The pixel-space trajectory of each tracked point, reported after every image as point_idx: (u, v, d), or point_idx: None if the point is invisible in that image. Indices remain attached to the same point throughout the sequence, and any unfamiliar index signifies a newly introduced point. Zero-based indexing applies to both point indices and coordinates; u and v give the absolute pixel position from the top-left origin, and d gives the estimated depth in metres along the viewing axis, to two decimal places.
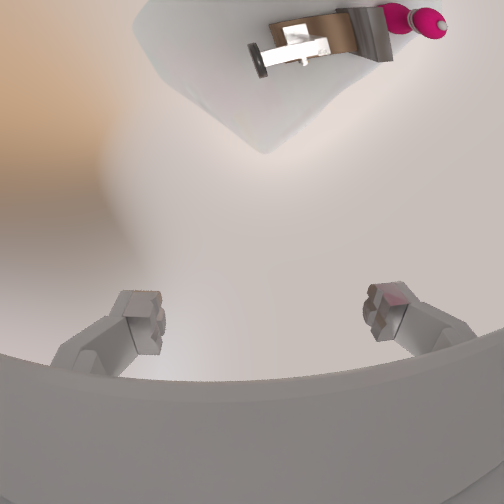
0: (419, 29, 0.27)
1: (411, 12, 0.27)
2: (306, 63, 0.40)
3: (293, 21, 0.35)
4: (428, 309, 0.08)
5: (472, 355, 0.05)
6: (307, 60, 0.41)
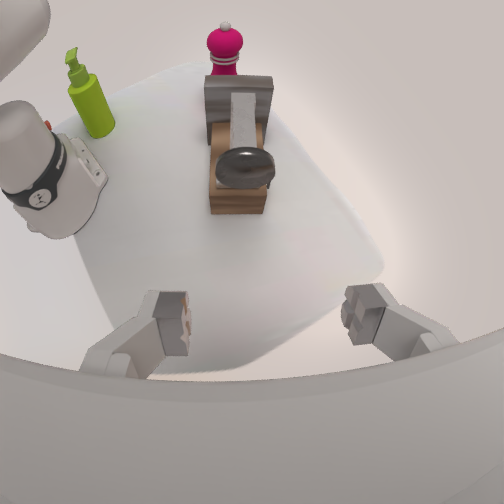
0: (232, 49, 0.36)
1: (213, 60, 0.39)
2: None
3: (211, 174, 0.39)
4: (407, 312, 0.08)
5: (472, 355, 0.05)
6: None
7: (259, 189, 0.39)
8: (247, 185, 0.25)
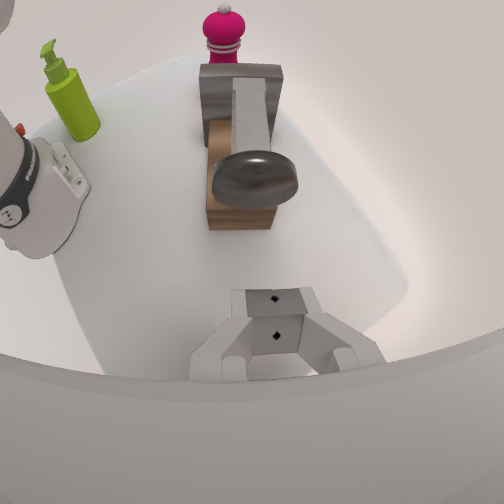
0: (233, 34, 0.29)
1: (211, 47, 0.32)
2: None
3: (208, 183, 0.33)
4: (328, 322, 0.08)
5: (472, 355, 0.05)
6: None
7: None
8: (257, 204, 0.18)
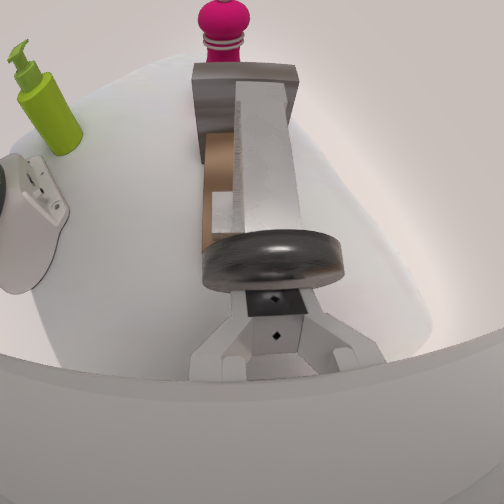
0: (235, 26, 0.23)
1: (208, 43, 0.26)
2: None
3: (205, 216, 0.26)
4: (328, 321, 0.08)
5: (472, 355, 0.05)
6: None
7: None
8: None
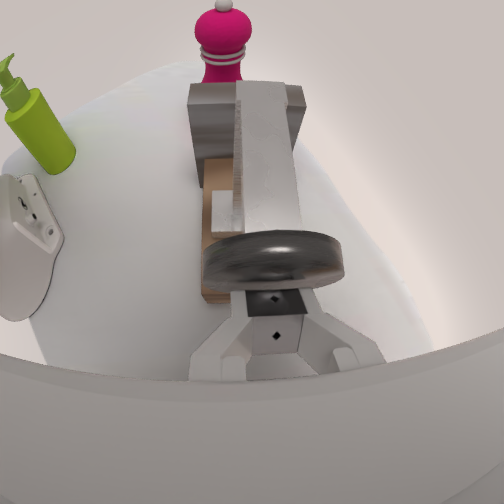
0: (235, 40, 0.22)
1: (206, 57, 0.25)
2: None
3: None
4: (328, 322, 0.08)
5: (472, 355, 0.05)
6: None
7: None
8: None
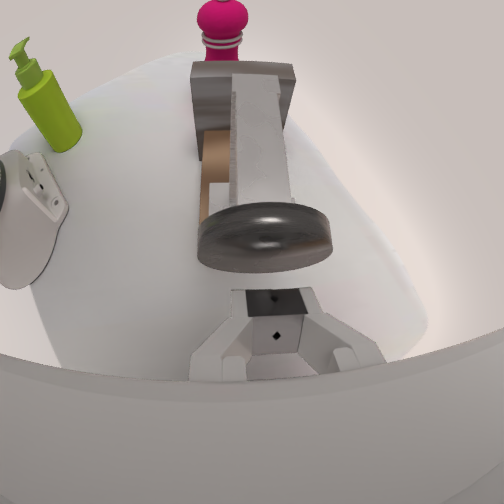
0: (233, 26, 0.23)
1: (206, 42, 0.26)
2: (291, 200, 0.26)
3: (202, 212, 0.27)
4: (328, 322, 0.08)
5: (472, 355, 0.05)
6: None
7: None
8: (267, 269, 0.12)
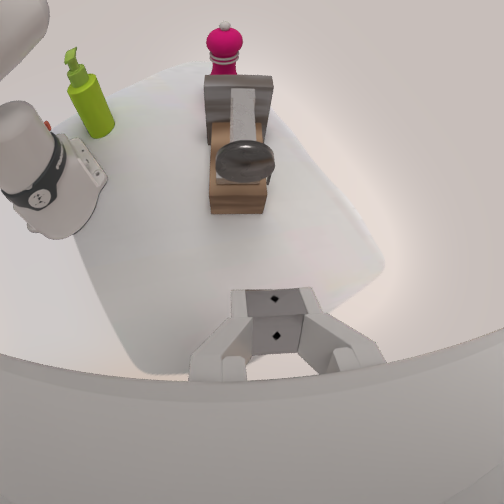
0: (232, 48, 0.36)
1: (213, 59, 0.39)
2: None
3: (211, 174, 0.39)
4: (328, 322, 0.08)
5: (472, 355, 0.05)
6: None
7: (259, 189, 0.39)
8: (247, 179, 0.25)
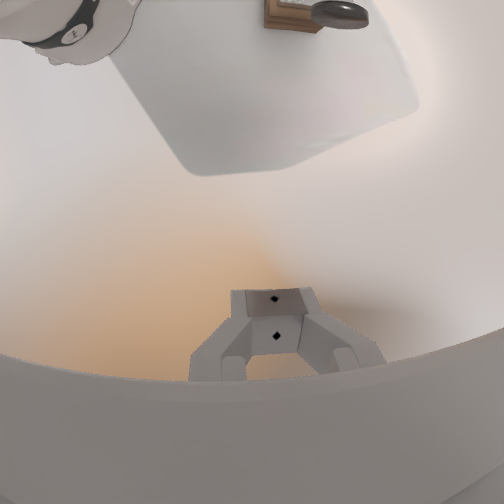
0: None
1: None
2: None
3: None
4: (328, 322, 0.08)
5: (472, 355, 0.05)
6: None
7: None
8: (335, 26, 0.18)
